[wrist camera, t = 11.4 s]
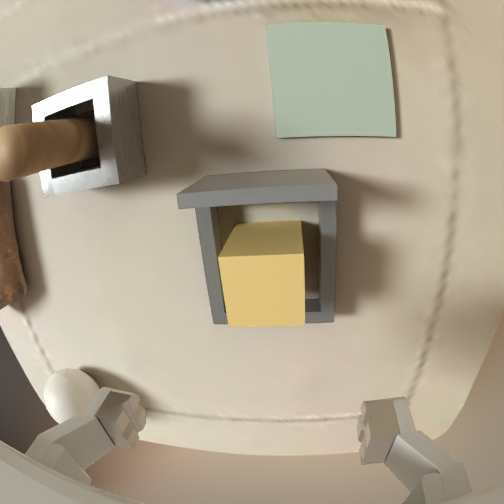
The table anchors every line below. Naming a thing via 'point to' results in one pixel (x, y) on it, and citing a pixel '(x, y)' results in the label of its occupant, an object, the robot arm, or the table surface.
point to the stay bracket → (108, 134)
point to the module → (264, 275)
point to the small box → (7, 106)
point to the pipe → (9, 252)
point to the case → (262, 192)
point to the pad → (331, 79)
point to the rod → (45, 145)
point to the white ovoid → (69, 393)
